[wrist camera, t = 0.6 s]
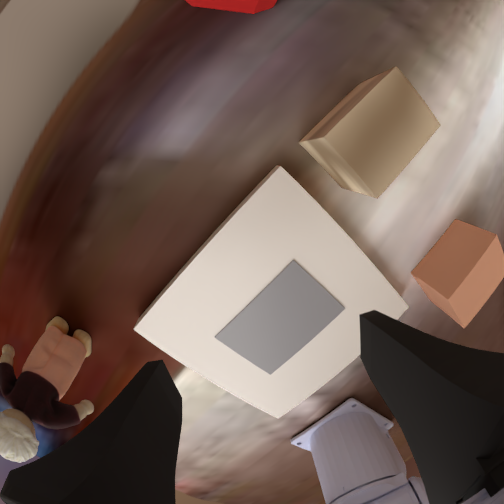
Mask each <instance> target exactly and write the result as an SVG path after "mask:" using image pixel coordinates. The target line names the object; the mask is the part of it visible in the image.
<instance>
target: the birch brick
mask: <svg viewBox="0 0 504 504" xmlns="http://www.w3.org/2000/svg"><path fill="white" fill-rule="evenodd" d="M439 127H440V123H439V122H438V120H437V119H436V117H435V116H434V114H433V113H432V112H431V110H430V109H429V107H428V106H427V104H426V103H425V102H424V100H423V99H422V98H421V96H420V95H419V94H418V92H417V91H416V90H415V88H414V87H413V86H412V85H411V83H410V82H409V81H408V80H407V78H406V77H405V76H404V75H403V74H402V72H401V71H400V70H399V69H398V68H397V66H396V67H394V68H391V69H389V70H387V71H385V72H383V73H381V74H378V75H376V76H374V77H372V78H370V79H368V80H366V81H364V82H362V83H360V84H358V85H357V86H356V87H355V88H354V89H353V90H352V91H351V92H350V93H349V94H348V95H347V96H345V97H344V98H343V99H342V100H341V101H340V102H339V103H338V104H337V105H336V106H335V107H334V108H333V109H332V110H331V111H330V112H329V113H328V114H327V115H326V116H325V117H324V118H323V119H322V120H321V121H320V122H319V123H318V124H317V125H316V126H315V127H314V128H313V129H312V130H311V131H310V132H309V133H308V134H307V135H306V136H305V137H304V138H303V139H302V140H301V141H300V142H299V144H300V145H301V146H302V147H303V148H304V149H305V150H306V151H307V152H308V153H309V154H310V155H311V156H312V157H313V158H314V159H315V160H316V161H317V162H318V163H319V164H320V165H321V166H322V167H323V168H324V169H325V170H326V171H327V172H328V173H329V175H330V176H331V177H332V178H333V179H334V180H335V181H336V182H337V183H338V184H339V185H340V187H341V188H344V189H348V190H351V191H355V192H358V193H361V194H365V195H368V196H371V197H374V198H377V199H378V197H379V196H380V195H381V194H382V193H383V192H384V191H385V190H386V189H387V187H388V186H389V185H390V184H391V183H392V182H393V181H394V180H395V178H396V177H397V176H398V175H399V174H400V173H401V172H402V170H403V169H404V168H405V167H406V166H407V165H408V163H409V162H410V161H411V160H412V159H413V158H414V157H415V155H416V154H417V153H418V152H419V151H420V149H421V148H422V147H423V146H424V145H425V143H426V142H427V141H428V140H429V139H430V137H431V136H432V135H433V134H434V133H435V131H436V130H437V129H438V128H439Z"/></svg>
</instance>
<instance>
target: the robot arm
mask: <svg viewBox="0 0 504 504" xmlns="http://www.w3.org/2000/svg"><path fill="white" fill-rule="evenodd" d="M359 317H360V348H361V359H362V362H363V364H364V366H365V368H366V370H367V373H368V375H369V377H370V379H371V380H372V382H373V384H374V385H375V387H376V388H377V390H378V392H379V393H380V395H381V396H382V398H383V399H384V401H385V403H386V404H387V406H388V407H389V409H390V410H391V412H392V414H393V415H394V417H395V418H396V420H397V422H398V423H399V425H400V427H401V429H402V431H403V433H404V435H405V438H406V440H407V442H408V444H409V447H410V449H411V451H412V454H413V456H414V459H415V461H416V464H417V466H418V469H419V472H420V475H421V478H418V477H415V476H412V477H411V478H409V479H408V480H407V478H406V466H405V463H404V461H403V459H402V457H401V455H400V454H399V452H398V450H397V448H396V446H395V444H394V442H393V440H392V438H391V436H390V434H389V433H388V431H387V430H389V429H390V428H391V427H392V426H393V422H392V421H390V420H388V419H387V418H385V417H383V416H382V415H380V414H378V413H377V412H375V411H373V410H372V409H370V408H369V407H367V406H365V405H364V404H362V403H361V402H359V401H357V400H356V399H354V398H350V399H348V400H347V401H345V402H344V403H343V404H341V405H340V406H339V407H337V408H336V409H335V410H333V411H332V412H331V413H329V414H328V415H326V416H325V417H324V418H322V419H321V420H319V421H318V422H316V423H315V424H314V425H312V426H311V427H309V428H308V429H306V430H305V431H303V432H302V433H300V434H298V435H297V436H295V437H294V438H292V439H291V444H293V445H296V446H298V447H301V448H303V449H306V450H309V451H311V452H312V455H313V459H314V463H315V466H316V470H317V473H318V477H319V480H320V484H321V487H322V491H323V495H324V498H325V502H326V504H504V353H497V352H490V351H484V350H478V349H473V348H469V347H465V346H462V345H458V344H454V343H451V342H448V341H445V340H442V339H439V338H437V337H434V336H431V335H429V334H426V333H424V332H422V331H419V330H417V329H415V328H413V327H410V326H408V325H406V324H404V323H402V322H400V321H398V320H396V319H393V318H391V317H389V316H387V315H385V314H383V313H381V312H379V311H376V310H372V311H369V312H366V313H363V314H360V315H359ZM181 425H182V397H181V395H180V393H179V391H178V390H177V388H176V386H175V384H174V382H173V380H172V378H171V376H170V374H169V372H168V370H167V368H166V366H165V364H164V362H163V360H158V361H151V362H147V363H146V364H145V365H144V366H143V367H142V368H141V370H140V371H139V372H138V373H137V374H136V375H135V376H134V378H133V379H132V380H131V381H130V382H129V383H128V385H127V386H126V387H125V388H124V389H123V390H122V392H121V393H120V394H119V395H118V396H117V397H116V398H115V399H114V400H113V402H112V403H111V404H110V405H109V406H108V407H107V408H106V409H105V410H104V411H103V412H102V413H101V414H100V415H99V416H98V417H97V418H96V419H95V420H94V421H93V422H92V423H91V424H89V425H88V426H87V427H86V428H85V429H84V430H82V431H81V432H80V433H79V434H77V435H76V436H75V437H73V438H72V439H70V440H69V441H68V442H66V443H65V444H63V445H62V446H61V447H59V448H57V449H56V450H54V451H52V452H51V453H49V454H47V455H45V456H44V457H42V458H40V459H38V460H36V461H34V462H32V463H29V464H26V465H24V466H21V467H19V468H16V469H14V470H11V471H10V472H9V474H8V477H7V479H6V481H5V483H4V486H3V488H2V490H1V493H0V497H1V499H2V500H3V501H4V502H5V503H6V504H175V470H176V462H177V454H178V447H179V440H180V433H181ZM408 482H409V483H408Z"/></svg>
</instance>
